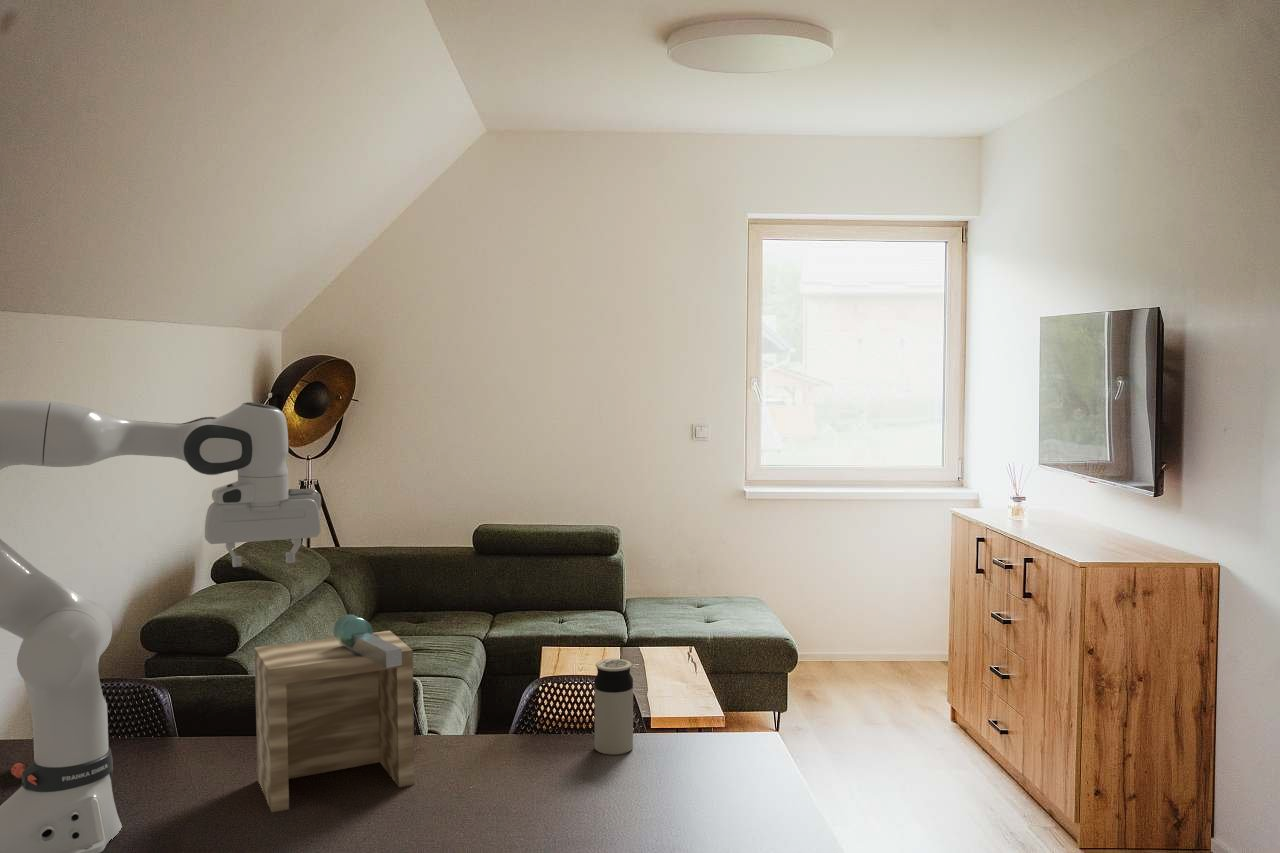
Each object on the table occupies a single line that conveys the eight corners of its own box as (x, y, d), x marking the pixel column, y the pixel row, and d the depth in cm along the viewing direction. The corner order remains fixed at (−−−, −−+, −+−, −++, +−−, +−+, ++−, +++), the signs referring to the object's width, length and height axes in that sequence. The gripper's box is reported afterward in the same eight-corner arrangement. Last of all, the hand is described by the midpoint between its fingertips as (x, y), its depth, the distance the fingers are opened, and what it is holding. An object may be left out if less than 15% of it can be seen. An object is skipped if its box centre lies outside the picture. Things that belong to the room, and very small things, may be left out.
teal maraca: (408, 663, 187) (408, 632, 187) (379, 669, 183) (379, 638, 183) (360, 640, 202) (360, 611, 202) (333, 645, 199) (332, 616, 199)
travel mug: (640, 746, 218) (640, 661, 217) (619, 758, 212) (619, 671, 210) (608, 739, 223) (608, 656, 221) (587, 750, 216) (586, 665, 215)
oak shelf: (414, 784, 199) (412, 647, 197) (271, 812, 186) (268, 667, 185) (391, 756, 213) (389, 628, 211) (257, 780, 201) (254, 645, 199)
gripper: (317, 485, 201) (318, 557, 202) (203, 490, 191) (203, 565, 192) (324, 489, 195) (324, 562, 196) (206, 495, 186) (207, 571, 186)
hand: (264, 564), depth 194 cm, fingers open, 8 cm apart
